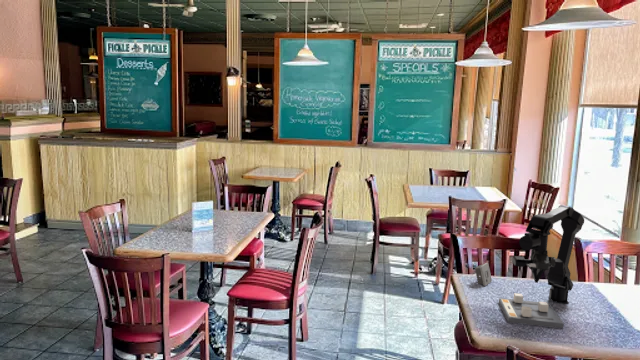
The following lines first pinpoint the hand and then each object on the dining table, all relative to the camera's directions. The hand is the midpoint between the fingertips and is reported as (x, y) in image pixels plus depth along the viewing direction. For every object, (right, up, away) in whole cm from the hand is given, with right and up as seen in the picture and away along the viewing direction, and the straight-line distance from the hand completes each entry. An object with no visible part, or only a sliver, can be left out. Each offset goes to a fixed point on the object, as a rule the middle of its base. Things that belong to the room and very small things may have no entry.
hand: (536, 282), depth 193 cm
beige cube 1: (-6, -9, +4) cm, 11 cm away
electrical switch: (-11, -8, +32) cm, 35 cm away
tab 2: (+1, -10, -5) cm, 11 cm away
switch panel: (-4, -12, -3) cm, 14 cm away
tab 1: (-9, -11, -10) cm, 17 cm away
